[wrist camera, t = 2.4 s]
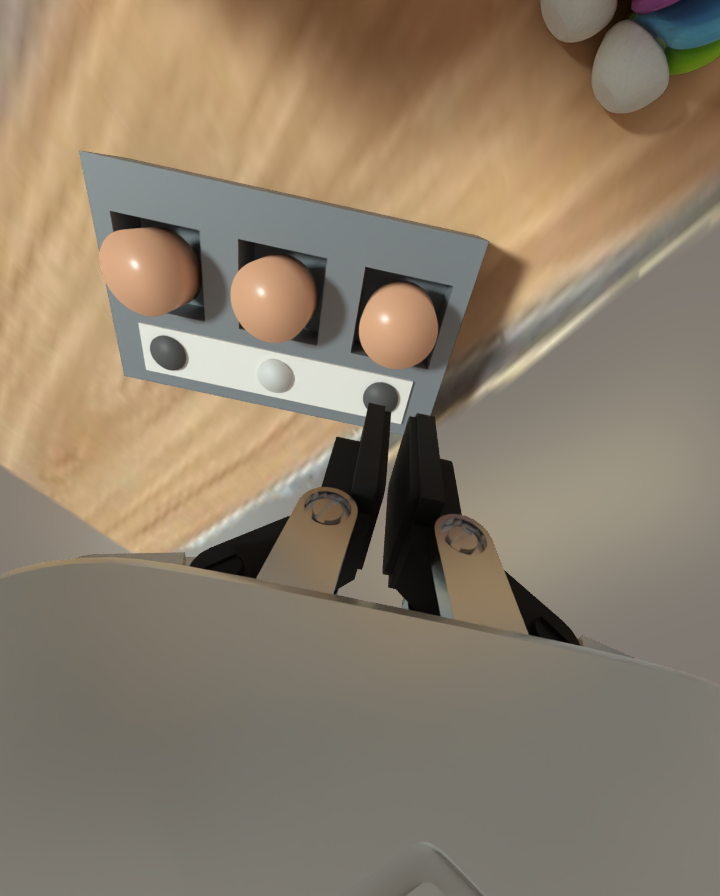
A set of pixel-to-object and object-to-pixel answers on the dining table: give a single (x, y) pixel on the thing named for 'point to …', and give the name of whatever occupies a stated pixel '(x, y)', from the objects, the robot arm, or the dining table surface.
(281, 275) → the button
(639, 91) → the rainbow wheeled toy
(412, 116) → the dining table surface
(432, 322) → the button
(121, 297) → the button
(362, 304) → the button board
